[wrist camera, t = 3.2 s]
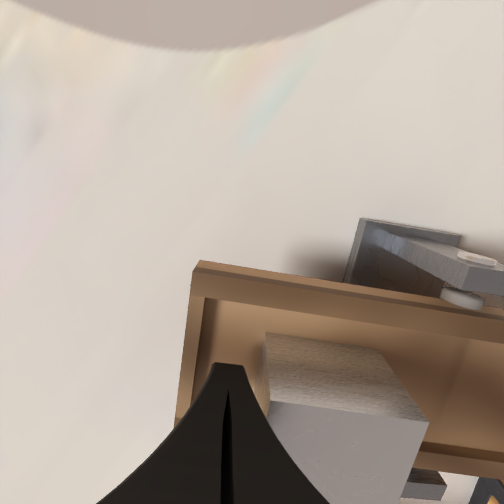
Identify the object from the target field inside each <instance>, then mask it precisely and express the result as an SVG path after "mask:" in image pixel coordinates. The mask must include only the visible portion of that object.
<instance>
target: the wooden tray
mask: <svg viewBox="0 0 504 504" xmlns="http://www.w3.org/2000/svg"><path fill="white" fill-rule="evenodd" d="M484 301H485V300H484V299H483V298H482V297H480V296H478V295H476V294H474V293H471V292H468V291H465V290H460V289H458V288H453V287H443V289H442V292H441V294H440V297H439V298H434V297H427V296H421V295H415V294H409V293H402V292H396V291H390V290H384V289H378V288H371V287H365V286H359V285H353V284H346V283H340V282H334V281H328V280H322V279H315V278H309V277H303V276H297V275H290V274H284V273H278V272H272V271H265V270H259V269H253V268H247V267H241V266H234V265H228V264H222V263H216V262H209V261H203V260H200V261H199V262H198V264H197V265H196V267H195V269H194V270H193V273H192V281H191V289H190V297H189V306H188V314H187V322H186V330H185V339H184V347H183V355H182V363H181V372H180V380H179V388H178V396H177V405H176V413H175V421H174V428H175V427H176V425H177V424H178V423H179V422H180V420H181V419H182V418H183V416H184V415H185V413H186V412H187V410H188V409H189V407H190V406H191V405H192V403H193V402H194V400H195V399H196V397H197V395H198V393H199V392H200V390H201V388H202V387H203V385H204V383H205V381H206V379H207V377H208V375H209V372H210V370H211V366H212V364H213V363H215V362H220V363H228V364H237V365H243V367H244V368H245V371H246V374H247V377H248V380H249V383H250V385H251V388H252V390H253V392H254V387H255V382H256V376H257V371H258V366H259V361H260V356H261V351H262V346H263V341H264V336H265V332H270V333H276V334H283V335H290V336H296V337H303V338H310V339H316V340H323V341H330V342H337V343H343V344H350V345H357V346H363V347H370V348H377V349H378V351H379V352H380V354H381V355H382V357H383V358H384V359H385V361H386V362H387V364H388V365H389V366H390V368H391V369H392V371H393V372H394V373H395V375H396V376H397V378H398V379H399V380H400V382H401V383H402V385H403V386H404V387H405V389H406V390H407V392H408V393H409V395H410V396H411V397H412V399H413V400H414V402H415V403H416V404H417V406H418V407H419V409H420V410H421V411H422V413H423V414H424V416H425V417H426V418H427V420H428V421H429V425H428V427H427V430H426V433H425V435H424V438H423V440H422V443H421V445H420V448H419V451H418V453H417V456H416V458H415V461H414V463H413V466H412V468H419V469H427V470H434V471H441V472H448V473H456V474H463V475H470V476H477V477H485V478H492V479H499V480H504V309H502V308H496V307H490V306H483V303H484Z"/></svg>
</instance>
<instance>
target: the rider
mask: <svg viewBox="0 0 504 504" xmlns="http://www.w3.org/2000/svg"><path fill="white" fill-rule="evenodd" d="M253 393H254V395H255V397H256V399H257V401H258V403H259V406H260V408H261V410H262V412H263V413H264V415H265V417H266V419H267V421H268V423H269V424H270V426H271V428H272V430H273V431H274V433H275V435H276V436H277V438H278V439H279V441H280V442H281V444H282V445H283V447H284V448H285V450H286V451H287V453H288V454H289V455H290V457H291V458H292V460H293V461H294V462H295V464H296V465H297V466H298V467H299V469H300V470H301V471H302V472H303V473H304V475H305V476H306V477H307V478H308V480H309V481H310V482H311V483H312V484H313V486H314V487H315V488H316V489H317V490H318V491H319V492H320V493H321V494H322V496H323V497H324V498H325V499H326V500H327V501H328V502H329V503H330V504H398V502H399V499H400V497H401V494H402V491H403V489H404V486H405V484H406V481H407V479H408V476H409V474H410V471H411V468H412V466H413V463H414V461H415V458H416V456H417V453H418V451H419V448H420V445H421V443H422V440H423V438H424V435H425V433H426V430H427V427H428V425H429V421H428V420H427V418H426V417H425V416H424V414H423V413H422V411H421V410H420V409H419V407H418V406H417V404H416V403H415V402H414V400H413V399H412V397H411V396H410V395H409V393H408V392H407V390H406V389H405V387H404V386H403V385H402V383H401V382H400V380H399V379H398V378H397V376H396V375H395V373H394V372H393V371H392V369H391V368H390V366H389V365H388V364H387V362H386V361H385V359H384V358H383V357H382V355H381V354H380V352H379V351H378V349H377V348H370V347H363V346H357V345H350V344H343V343H337V342H330V341H323V340H316V339H310V338H303V337H296V336H290V335H283V334H276V333H270V332H265V336H264V341H263V346H262V351H261V356H260V361H259V366H258V371H257V376H256V382H255V387H254V392H253Z"/></svg>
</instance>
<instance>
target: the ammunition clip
mask: <svg viewBox="0 0 504 504" xmlns="http://www.w3.org/2000/svg"><path fill="white" fill-rule="evenodd" d="M469 504H504V480H499V479H492V478H485V477H479V479H478V481H477V484H476V486H475V489H474V492H473V494H472V497H471V499H470V502H469Z"/></svg>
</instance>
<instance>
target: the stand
mask: <svg viewBox="0 0 504 504" xmlns="http://www.w3.org/2000/svg"><path fill="white" fill-rule="evenodd" d="M459 239H460V236H459V235H456V234H452V233H448V232H442V231H436V230H430V229H424V228H418V227H412V226H406V225H400V224H394V223H388V222H382V221H376V220H370V219H364V218H360V220H359V223H358V227H357V231H356V235H355V239H354V242H353V246H352V250H351V254H350V258H349V261H348V265H347V269H346V273H345V277H344V280H343V283H346V284H353V285H359V286H365V287H371V288H378V289H384V290H390V291H396V292H402V293H409V294H415V295H421V296H427V297H434V298H439V295H440V292H441V289H442V287H443V284H444V281H445V282H447V283H449V284H451V285H453V286H455V287H457V288H458V289H460V290H465V291H472V292H479V293H486V294H492V295H499V296H504V264H501V263H499V262H497V260H495V259H492V258H489V257H486V256H482V255H478V254H474V253H470V252H467V251H464V250H462V249H459V248H456V247H457V245H458V242H459ZM446 487H447V485H446V483H445V482H444V480H443V479H442V477H441V476H440V474H439V473H438V471H434V470H427V469H419V468H411V471H410V474H409V476H408V479H407V481H406V484H405V486H404V489H403V491H402V494H401V497H403V498H414V499H426V500H438V501H441V499H442V496H443V494H444V492H445V490H446Z"/></svg>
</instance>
